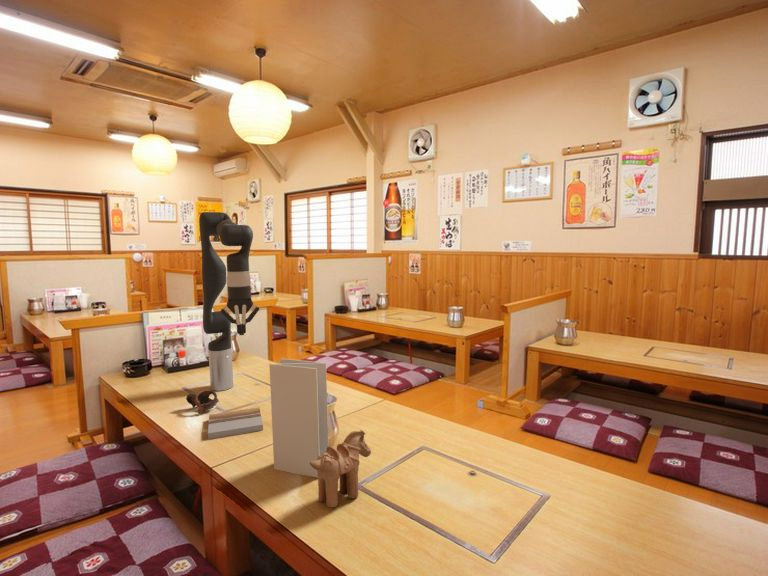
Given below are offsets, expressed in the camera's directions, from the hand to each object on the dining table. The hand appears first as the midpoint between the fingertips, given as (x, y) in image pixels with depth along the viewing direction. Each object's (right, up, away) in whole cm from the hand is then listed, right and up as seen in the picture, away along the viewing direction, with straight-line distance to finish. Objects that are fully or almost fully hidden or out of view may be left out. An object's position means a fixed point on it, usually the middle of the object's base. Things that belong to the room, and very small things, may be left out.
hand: (241, 334), depth 144 cm
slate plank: (-1, -32, -3) cm, 32 cm away
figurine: (+39, -36, -40) cm, 66 cm away
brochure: (+26, -34, -27) cm, 51 cm away
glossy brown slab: (-4, -31, +4) cm, 31 cm away
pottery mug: (-20, -30, +15) cm, 39 cm away
